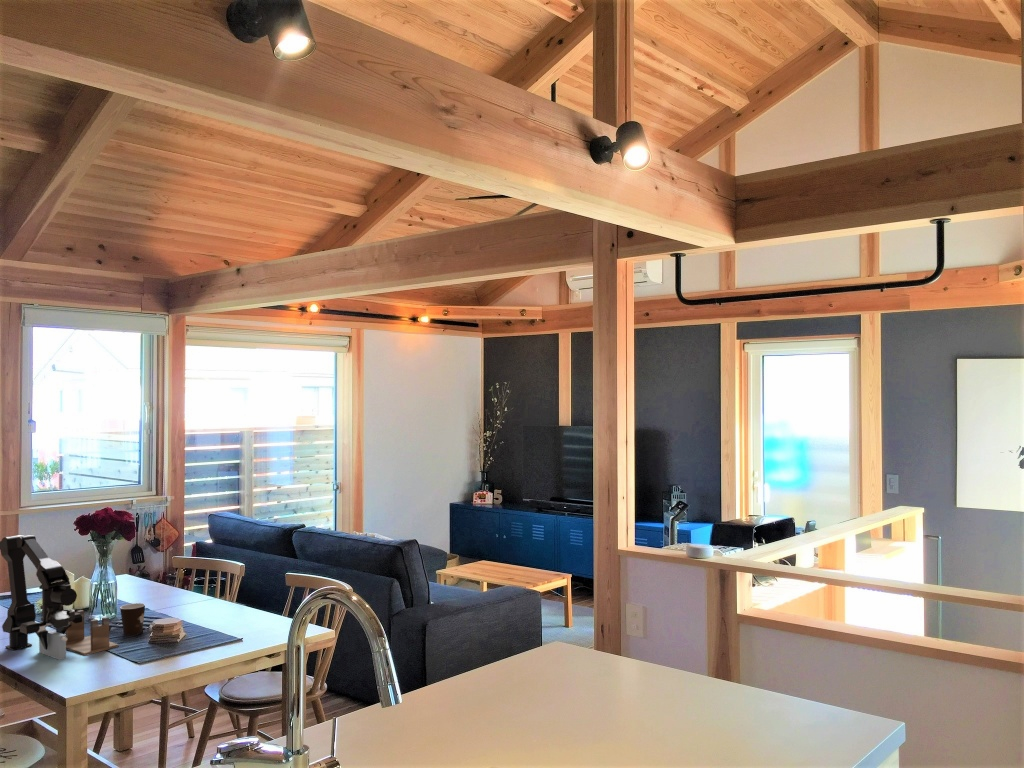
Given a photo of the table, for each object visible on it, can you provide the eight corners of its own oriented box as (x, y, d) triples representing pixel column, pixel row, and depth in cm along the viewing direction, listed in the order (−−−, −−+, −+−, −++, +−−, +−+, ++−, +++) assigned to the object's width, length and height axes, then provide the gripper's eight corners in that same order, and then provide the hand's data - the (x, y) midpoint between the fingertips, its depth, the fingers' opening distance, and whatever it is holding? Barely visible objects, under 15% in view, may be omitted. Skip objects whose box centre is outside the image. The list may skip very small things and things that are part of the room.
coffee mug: (129, 637, 307) (129, 610, 307) (115, 634, 311) (115, 607, 312) (157, 629, 317) (157, 603, 317) (143, 626, 321) (143, 600, 322)
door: (36, 651, 291) (36, 628, 292) (42, 650, 293) (42, 627, 293) (62, 661, 280) (62, 637, 280) (68, 659, 282) (68, 635, 282)
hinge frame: (56, 646, 297) (56, 615, 298) (90, 637, 307) (89, 608, 307) (84, 655, 285) (84, 623, 286) (118, 646, 295) (118, 615, 295)
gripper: (34, 611, 275) (34, 659, 274) (90, 599, 290) (91, 644, 289) (18, 607, 281) (19, 653, 281) (74, 595, 296) (75, 639, 296)
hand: (52, 647), depth 287 cm, fingers open, 4 cm apart
